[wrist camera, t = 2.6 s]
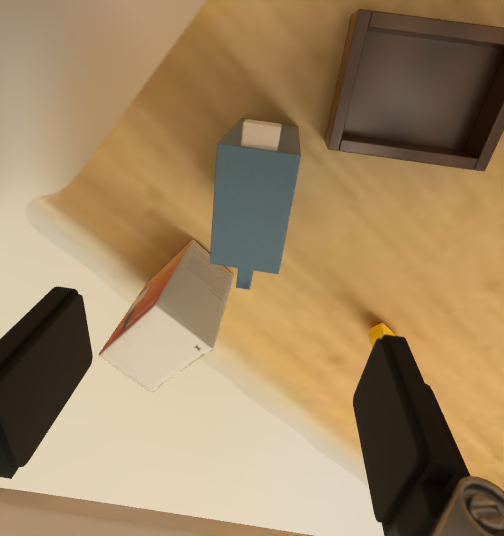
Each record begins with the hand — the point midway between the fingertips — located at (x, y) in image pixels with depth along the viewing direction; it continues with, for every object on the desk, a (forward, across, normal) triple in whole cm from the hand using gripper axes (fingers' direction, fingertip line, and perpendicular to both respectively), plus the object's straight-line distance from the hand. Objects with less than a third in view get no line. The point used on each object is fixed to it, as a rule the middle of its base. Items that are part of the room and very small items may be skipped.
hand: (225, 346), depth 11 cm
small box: (+21, +6, +12) cm, 25 cm away
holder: (+21, -10, -7) cm, 24 cm away
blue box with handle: (+21, 0, 0) cm, 21 cm away
